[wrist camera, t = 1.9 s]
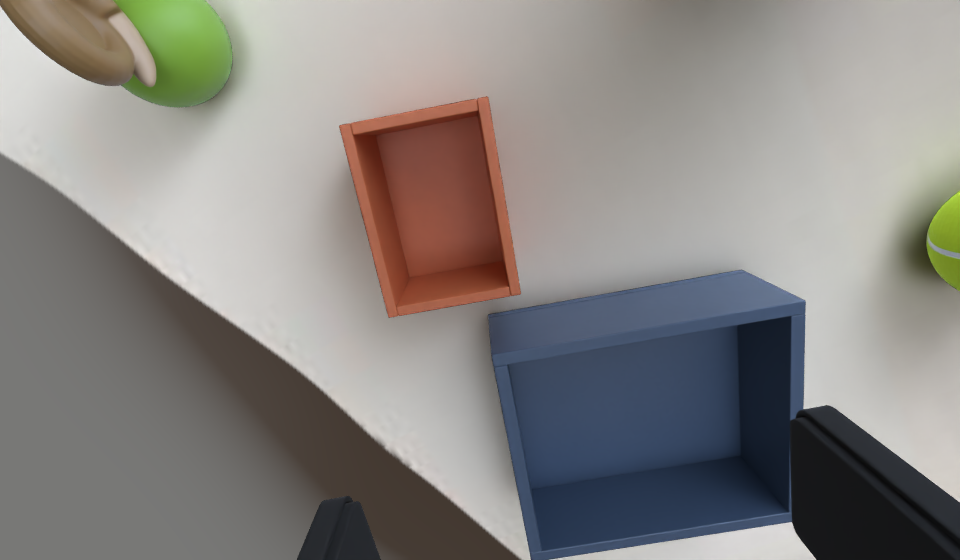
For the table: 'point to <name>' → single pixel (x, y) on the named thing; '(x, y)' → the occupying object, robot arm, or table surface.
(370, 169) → the small tote
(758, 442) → the big tote
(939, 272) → the tennis ball
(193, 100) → the snail figurine
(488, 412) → the table surface
